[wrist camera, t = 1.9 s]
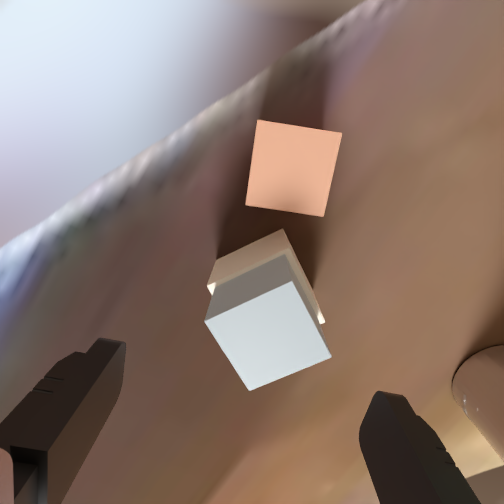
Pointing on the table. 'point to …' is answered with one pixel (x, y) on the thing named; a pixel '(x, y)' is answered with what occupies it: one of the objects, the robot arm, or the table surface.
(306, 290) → the cream base block
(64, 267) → the table surface
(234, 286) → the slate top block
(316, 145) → the terracotta block
